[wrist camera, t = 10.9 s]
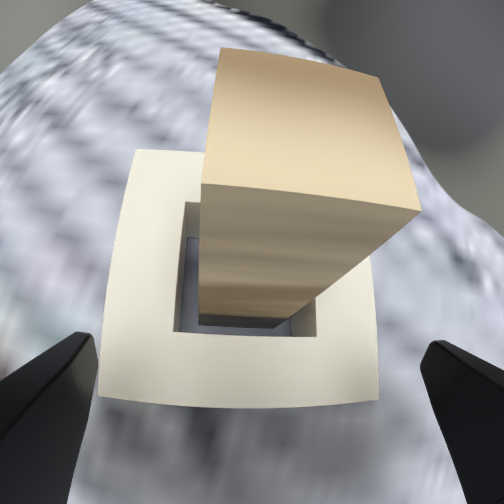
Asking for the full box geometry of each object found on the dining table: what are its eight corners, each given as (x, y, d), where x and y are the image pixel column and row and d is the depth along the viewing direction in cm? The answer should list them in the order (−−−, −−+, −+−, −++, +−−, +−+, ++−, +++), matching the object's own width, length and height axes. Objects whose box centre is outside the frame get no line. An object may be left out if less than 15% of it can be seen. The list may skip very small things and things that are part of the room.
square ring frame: (343, 397, 16) (379, 399, 13) (120, 392, 15) (97, 395, 11) (331, 206, 21) (356, 171, 17) (144, 190, 19) (136, 149, 16)
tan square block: (273, 328, 17) (421, 211, 5) (198, 324, 17) (201, 182, 5) (273, 259, 19) (378, 77, 7) (203, 254, 18) (220, 47, 6)
